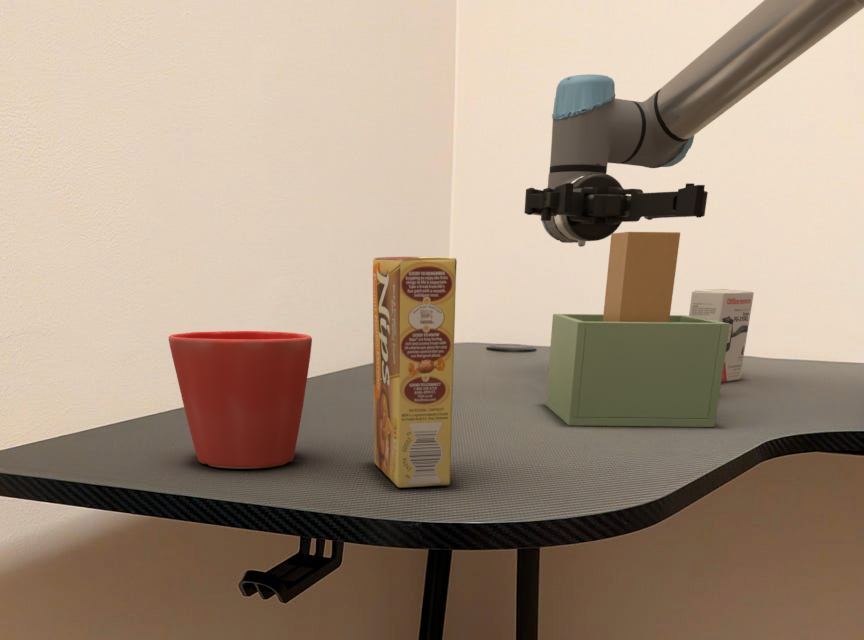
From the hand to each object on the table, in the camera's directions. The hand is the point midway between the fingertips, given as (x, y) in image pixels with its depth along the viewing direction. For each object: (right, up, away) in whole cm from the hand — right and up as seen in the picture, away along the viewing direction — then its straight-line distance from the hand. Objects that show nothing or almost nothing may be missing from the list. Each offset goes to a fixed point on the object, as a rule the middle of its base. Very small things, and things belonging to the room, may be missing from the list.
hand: (634, 198), depth 94 cm
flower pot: (-37, -31, -20) cm, 53 cm away
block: (0, -21, +3) cm, 21 cm away
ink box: (+20, -10, +33) cm, 39 cm away
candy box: (-24, -33, -25) cm, 48 cm away
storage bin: (0, -22, +3) cm, 22 cm away
